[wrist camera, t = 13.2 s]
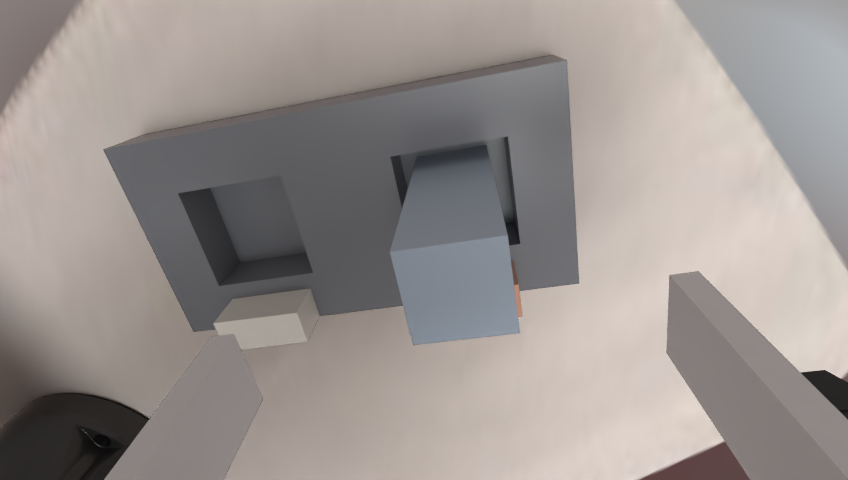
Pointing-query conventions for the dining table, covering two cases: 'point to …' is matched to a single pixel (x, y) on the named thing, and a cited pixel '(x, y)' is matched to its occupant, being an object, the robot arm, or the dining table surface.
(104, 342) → the dining table surface
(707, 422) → the dining table surface
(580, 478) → the dining table surface
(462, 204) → the plug
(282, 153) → the socket block
